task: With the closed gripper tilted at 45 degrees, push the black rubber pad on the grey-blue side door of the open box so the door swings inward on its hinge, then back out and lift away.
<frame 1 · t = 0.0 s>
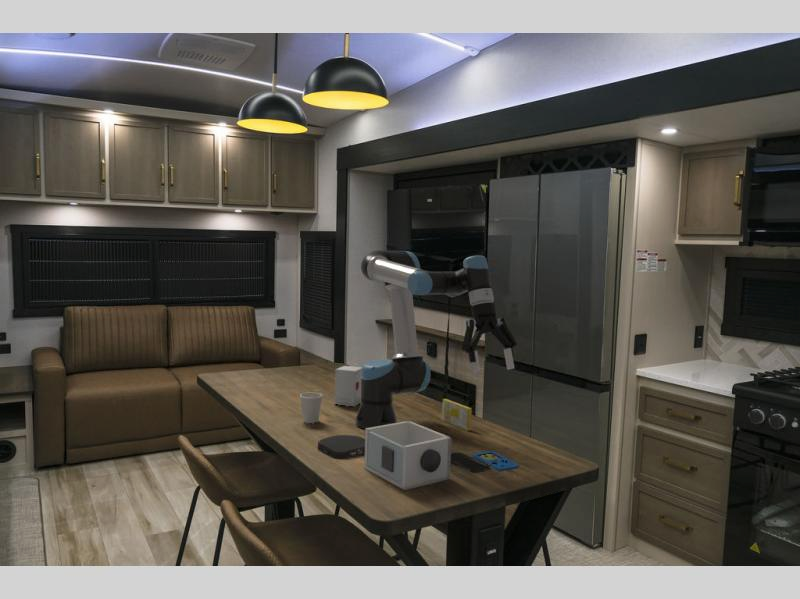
hand: (494, 371, 196), 28 cm above the table, tool tilted 20°, fingers open, 13 cm apart
phone: (464, 465, 194), on the table
open box: (406, 473, 183), on the table
handheld gaming device: (495, 462, 196), on the table
supplement box: (348, 404, 261), on the table
side door: (384, 456, 178), point 6 cm above the table, hinge at 0.0°
dixie cup: (310, 421, 234), on the table
media streaming box: (344, 450, 204), on the table
candy box: (455, 425, 235), on the table
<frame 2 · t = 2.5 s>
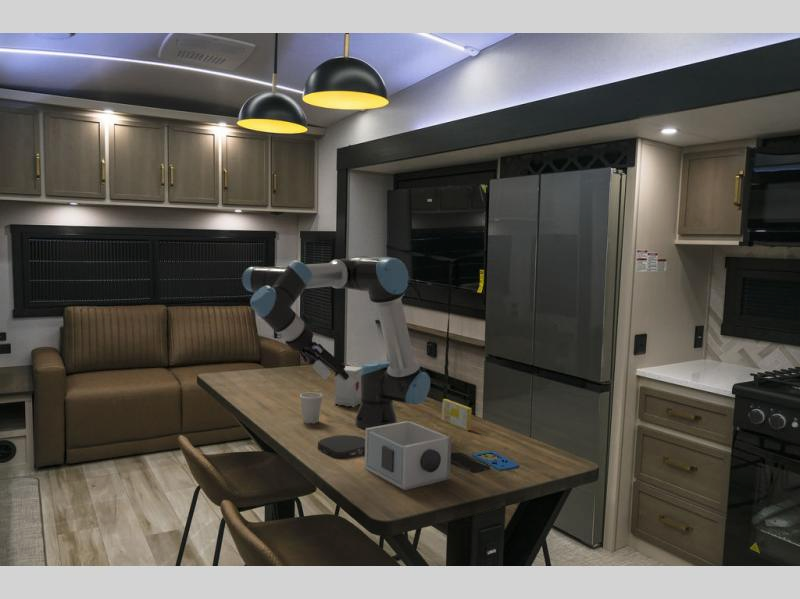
hand: (339, 380, 186), 26 cm above the table, tool tilted 45°, fingers open, 13 cm apart
nothing on the table moved.
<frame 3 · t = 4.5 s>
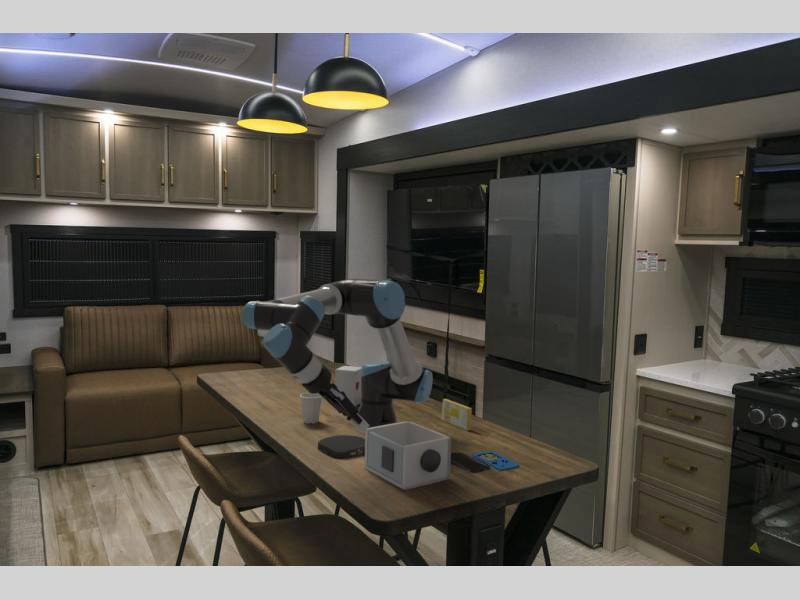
hand: (365, 428, 172), 16 cm above the table, tool tilted 45°, fingers closed
nothing on the table moved.
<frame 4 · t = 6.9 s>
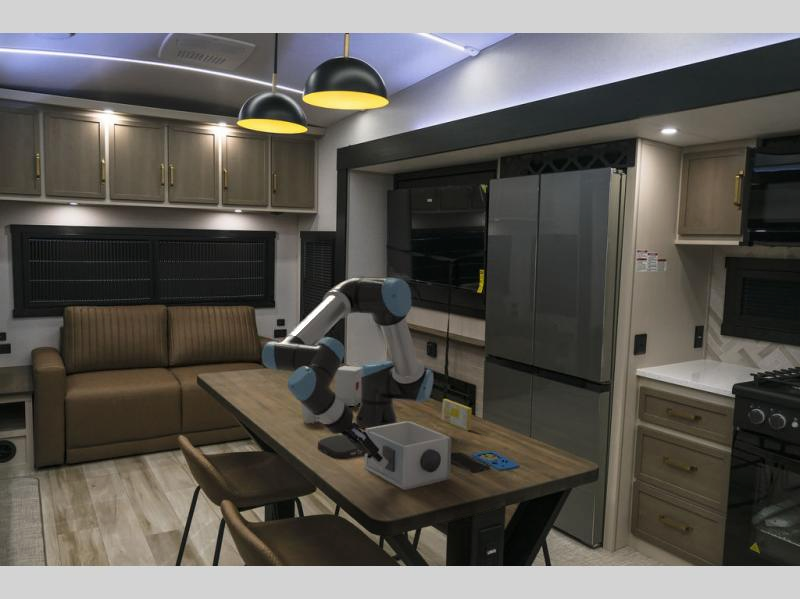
hand: (384, 465, 176), 5 cm above the table, tool tilted 45°, fingers closed
side door: (385, 456, 179), point 6 cm above the table, hinge at 1.6°, touching gripper
everything else where it was.
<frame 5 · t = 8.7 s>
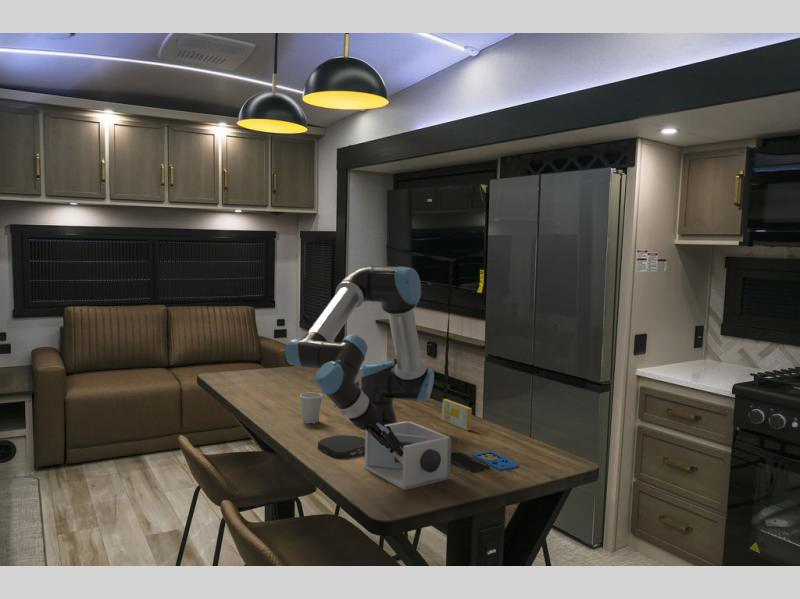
hand: (405, 460, 180), 5 cm above the table, tool tilted 45°, fingers closed
side door: (396, 451, 183), point 6 cm above the table, hinge at 39.4°, touching open box, gripper
everything else where it was.
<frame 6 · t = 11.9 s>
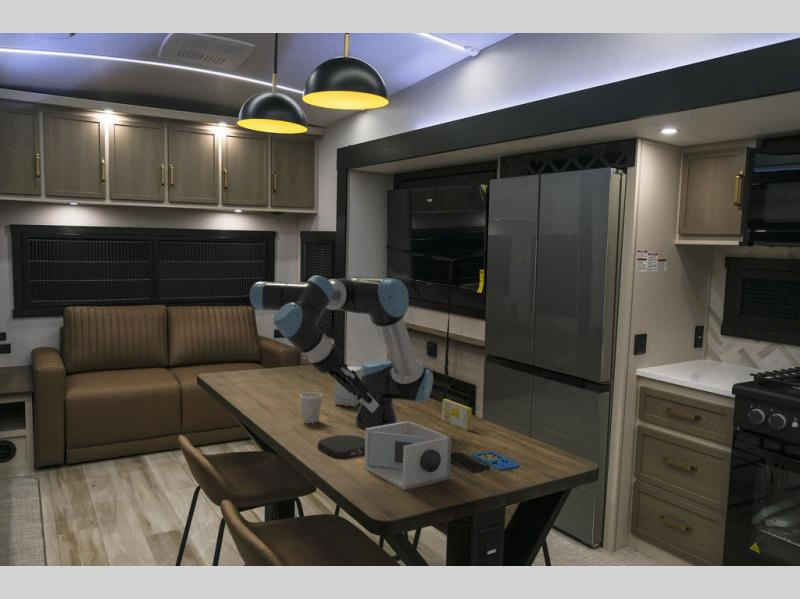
hand: (374, 408, 172), 22 cm above the table, tool tilted 45°, fingers closed
side door: (396, 451, 183), point 6 cm above the table, hinge at 39.4°
everything else where it was.
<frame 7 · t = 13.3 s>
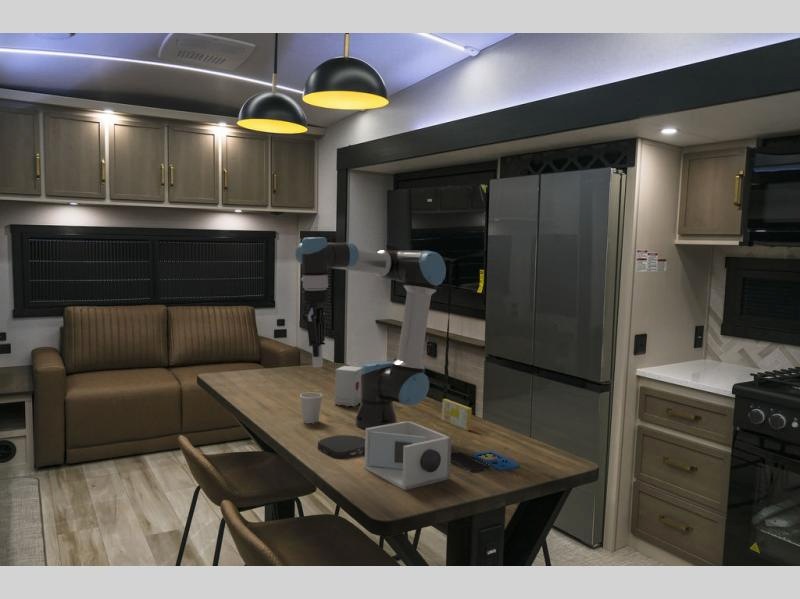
hand: (317, 366, 191), 29 cm above the table, tool pointing down, fingers closed
nothing on the table moved.
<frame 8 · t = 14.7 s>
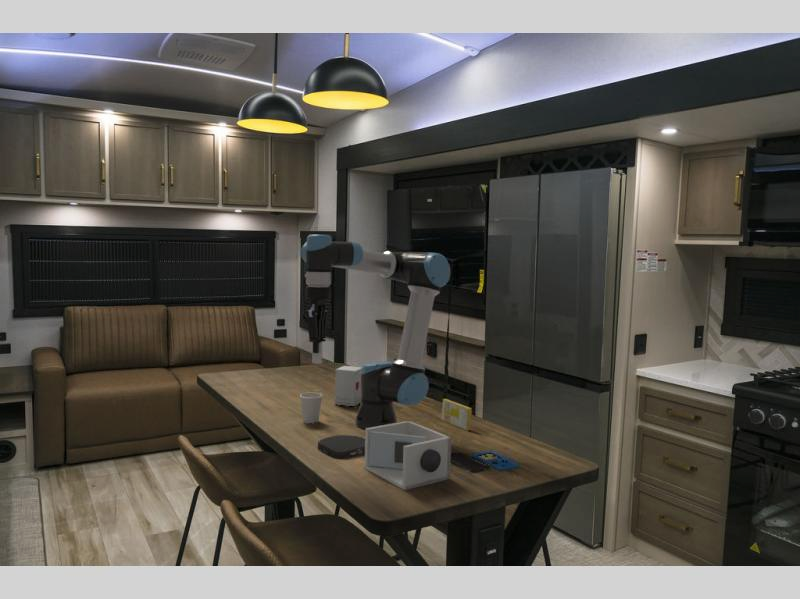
hand: (317, 363, 193), 29 cm above the table, tool pointing down, fingers closed
nothing on the table moved.
at the end: side door at +39° (first picture: +0°) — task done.
